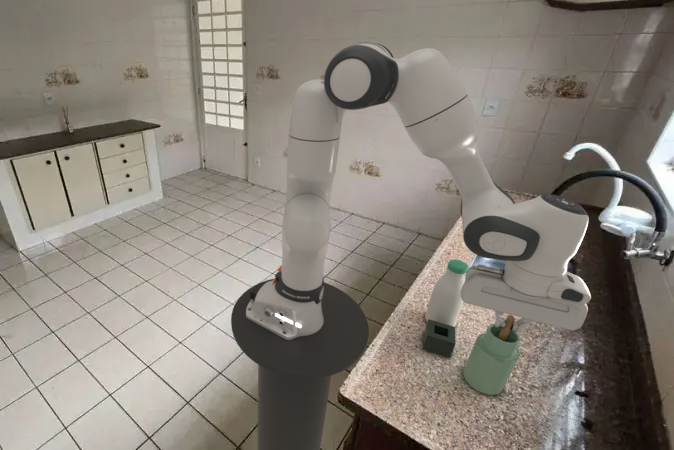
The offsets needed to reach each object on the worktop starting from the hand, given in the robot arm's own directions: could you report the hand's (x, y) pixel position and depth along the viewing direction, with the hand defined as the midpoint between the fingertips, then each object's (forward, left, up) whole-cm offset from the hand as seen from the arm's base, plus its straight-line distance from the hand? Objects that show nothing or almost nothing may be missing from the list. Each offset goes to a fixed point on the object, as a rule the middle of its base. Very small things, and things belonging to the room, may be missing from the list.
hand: (506, 328), depth 75 cm
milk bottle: (-10, +17, -17) cm, 26 cm away
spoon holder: (-10, +7, -17) cm, 21 cm away
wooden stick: (0, 0, -14) cm, 14 cm away
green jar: (0, 0, -17) cm, 17 cm away
